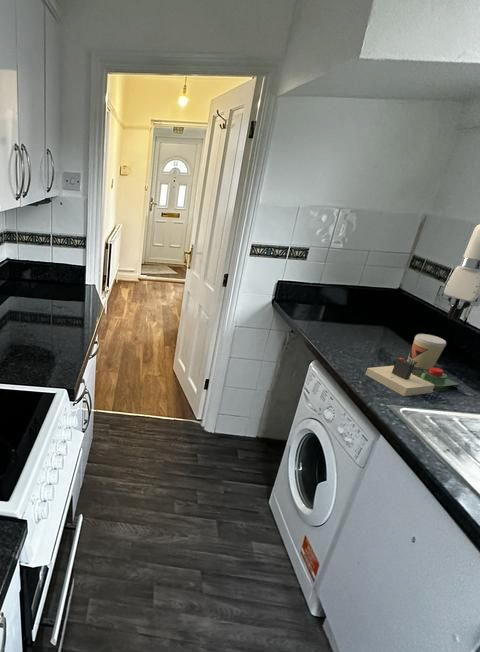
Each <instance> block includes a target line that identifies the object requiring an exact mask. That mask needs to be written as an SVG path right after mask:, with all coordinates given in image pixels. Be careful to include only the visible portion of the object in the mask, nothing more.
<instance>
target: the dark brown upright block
mask: <svg viewBox="0 0 480 652" xmlns="http://www.w3.org/2000/svg"><path fill="white" fill-rule="evenodd" d="M414 365H415V364H413V363H411V362H408V361H407V360H406V359H405V358H403V357H397V358H396V361H395V363H394V365H393V366H394V368H393V371H392V373H393V374H395V375H397V376H399V377H401V378H403V379H405V380H406V379H409V378H410V375H411V373H412V371H413V370H414V369H415V367H414ZM413 368H414V369H413Z"/></svg>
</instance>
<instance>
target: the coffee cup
mask: <svg viewBox="0 0 480 652" xmlns="http://www.w3.org/2000/svg"><path fill="white" fill-rule="evenodd" d="M446 346H447V341H446V340H445V339H443V338H441V337H439V336H436V335H433V334H429V333H428V334H425V333H418V334H416V335H414V340H413V343H412V344H411V348H410V350H409V354H408V357H407V360H406V361H408V362H411V363H413V364H415V365H414V368H413V370H414V371H420V370H421V369H422V370H424V369H430V368H431V367H434V368H435V365H436V363H437V362H438V360H439V358H440V356H441V355H442V352H443V351H444V349H445V348H446ZM416 368H418V369H416ZM419 369H420V370H419Z"/></svg>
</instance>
